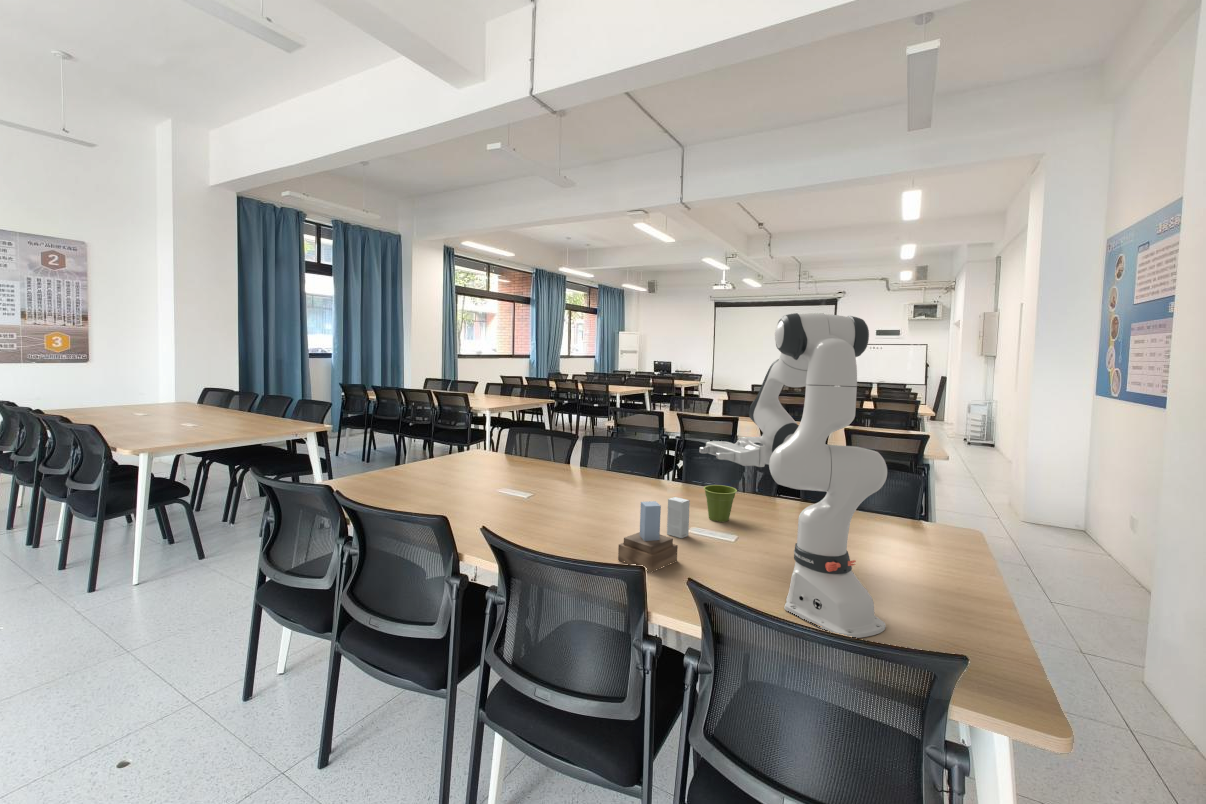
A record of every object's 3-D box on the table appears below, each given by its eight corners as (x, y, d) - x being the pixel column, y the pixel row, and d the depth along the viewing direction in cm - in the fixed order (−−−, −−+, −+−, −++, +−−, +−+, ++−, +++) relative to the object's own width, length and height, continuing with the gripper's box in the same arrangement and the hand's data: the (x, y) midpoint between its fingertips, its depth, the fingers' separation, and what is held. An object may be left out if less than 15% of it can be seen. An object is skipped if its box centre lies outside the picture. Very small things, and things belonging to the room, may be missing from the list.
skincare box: (688, 535, 179) (690, 500, 178) (681, 538, 176) (682, 502, 175) (673, 531, 183) (675, 496, 182) (666, 534, 180) (667, 498, 179)
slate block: (659, 540, 155) (660, 505, 153) (644, 541, 154) (645, 506, 152) (654, 534, 159) (655, 501, 158) (639, 535, 158) (640, 501, 157)
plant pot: (695, 518, 198) (696, 488, 197) (715, 512, 206) (716, 483, 205) (722, 526, 190) (724, 494, 189) (742, 520, 198) (743, 489, 197)
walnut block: (676, 562, 157) (677, 538, 156) (651, 573, 148) (652, 548, 148) (644, 551, 165) (645, 528, 164) (618, 561, 156) (618, 537, 156)
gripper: (728, 436, 178) (691, 437, 173) (769, 446, 159) (728, 448, 154) (728, 455, 178) (690, 457, 173) (767, 468, 159) (727, 470, 154)
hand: (708, 453), depth 163 cm, fingers open, 8 cm apart
